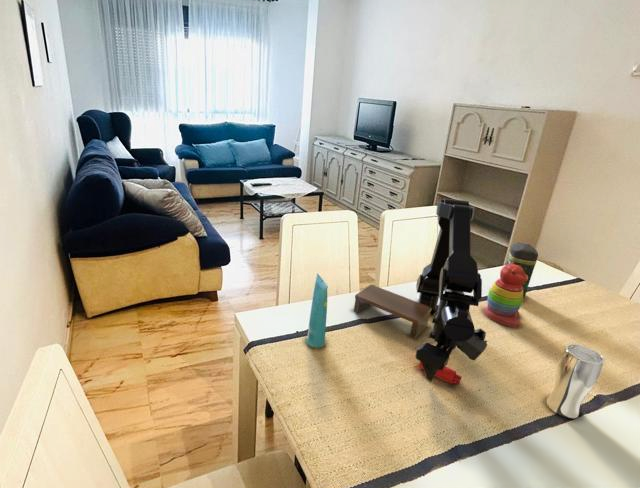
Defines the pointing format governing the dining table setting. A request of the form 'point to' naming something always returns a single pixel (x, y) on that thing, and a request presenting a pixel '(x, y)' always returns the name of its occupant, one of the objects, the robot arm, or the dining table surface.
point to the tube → (318, 314)
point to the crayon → (446, 375)
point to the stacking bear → (506, 296)
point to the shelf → (394, 307)
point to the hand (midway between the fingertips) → (436, 370)
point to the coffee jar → (523, 260)
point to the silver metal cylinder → (574, 379)
